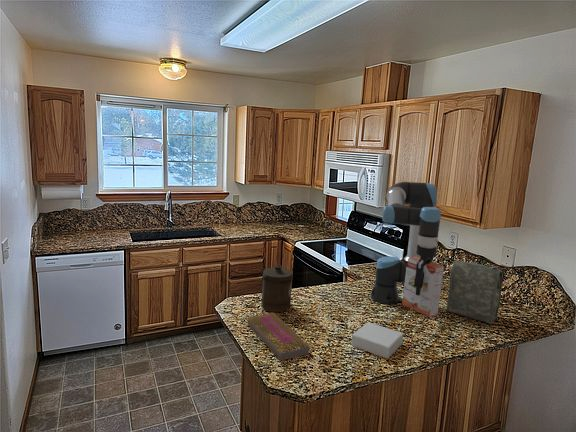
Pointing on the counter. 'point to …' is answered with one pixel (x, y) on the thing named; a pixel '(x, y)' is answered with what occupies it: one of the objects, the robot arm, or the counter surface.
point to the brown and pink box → (278, 335)
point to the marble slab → (377, 339)
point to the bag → (475, 291)
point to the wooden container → (276, 289)
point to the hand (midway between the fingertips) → (420, 299)
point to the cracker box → (430, 287)
